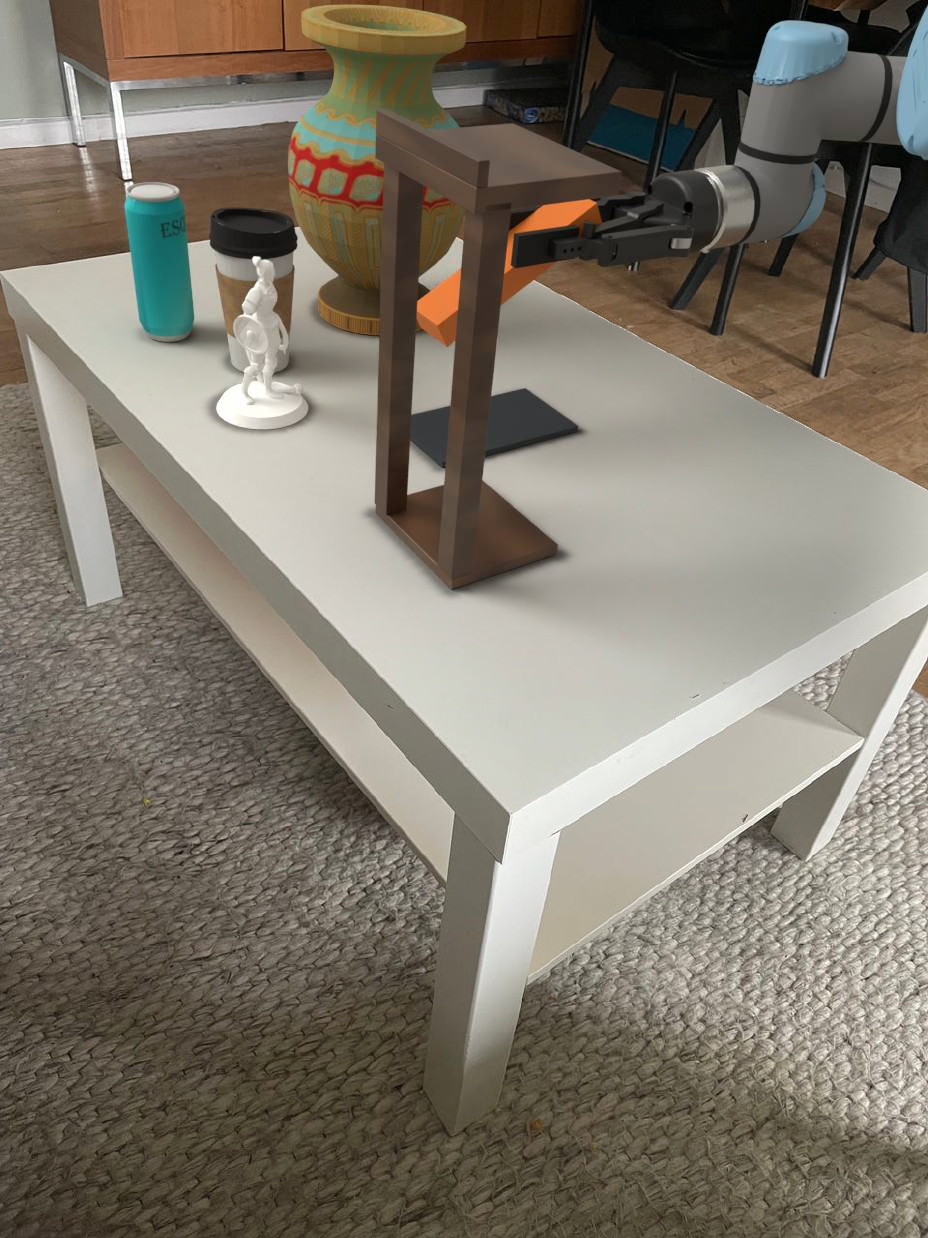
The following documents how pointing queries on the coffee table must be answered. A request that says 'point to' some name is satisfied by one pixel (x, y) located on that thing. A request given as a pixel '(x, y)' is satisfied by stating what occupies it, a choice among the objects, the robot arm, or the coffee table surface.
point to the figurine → (261, 363)
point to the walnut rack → (459, 328)
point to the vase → (367, 148)
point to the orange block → (443, 300)
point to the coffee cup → (252, 267)
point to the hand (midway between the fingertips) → (498, 240)
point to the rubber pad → (494, 425)
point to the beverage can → (160, 260)
